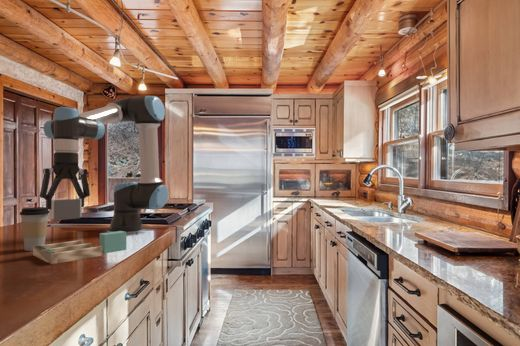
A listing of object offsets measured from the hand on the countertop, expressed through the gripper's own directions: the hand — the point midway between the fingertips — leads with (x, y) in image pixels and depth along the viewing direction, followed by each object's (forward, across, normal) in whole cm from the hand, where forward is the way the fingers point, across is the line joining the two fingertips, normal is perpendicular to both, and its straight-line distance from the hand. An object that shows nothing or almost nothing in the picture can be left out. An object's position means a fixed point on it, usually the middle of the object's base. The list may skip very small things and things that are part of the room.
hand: (65, 217), depth 120 cm
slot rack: (+12, 0, +4) cm, 13 cm away
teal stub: (+12, -13, +8) cm, 20 cm away
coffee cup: (+13, +5, -15) cm, 20 cm away
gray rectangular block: (0, 0, 0) cm, 0 cm away
